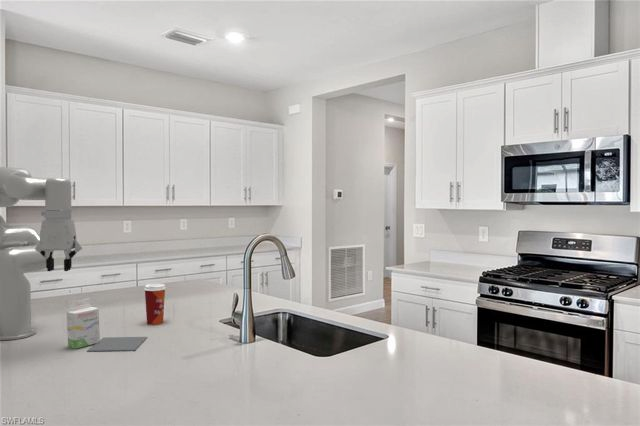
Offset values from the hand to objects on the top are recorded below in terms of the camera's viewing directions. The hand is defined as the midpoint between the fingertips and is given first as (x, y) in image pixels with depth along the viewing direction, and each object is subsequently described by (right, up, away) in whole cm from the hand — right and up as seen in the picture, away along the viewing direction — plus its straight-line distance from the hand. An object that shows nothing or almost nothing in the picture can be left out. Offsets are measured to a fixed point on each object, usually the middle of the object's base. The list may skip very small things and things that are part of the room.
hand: (59, 270), depth 153 cm
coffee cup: (+21, -25, +30) cm, 44 cm away
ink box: (+8, -25, +2) cm, 27 cm away
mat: (+19, -25, +3) cm, 32 cm away
